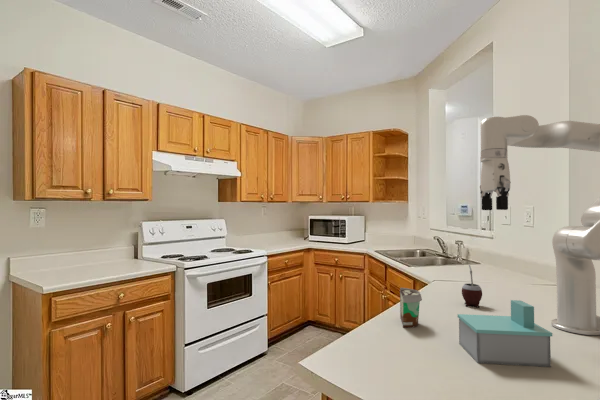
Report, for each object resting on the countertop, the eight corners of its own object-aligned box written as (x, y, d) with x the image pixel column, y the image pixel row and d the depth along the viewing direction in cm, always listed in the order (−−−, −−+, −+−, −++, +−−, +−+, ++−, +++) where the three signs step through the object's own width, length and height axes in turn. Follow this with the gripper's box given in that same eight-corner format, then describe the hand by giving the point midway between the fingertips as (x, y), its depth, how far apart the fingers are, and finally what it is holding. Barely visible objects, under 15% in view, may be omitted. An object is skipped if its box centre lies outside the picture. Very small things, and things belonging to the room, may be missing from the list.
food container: (424, 330, 102) (424, 296, 103) (403, 329, 104) (403, 295, 104) (419, 318, 114) (419, 288, 115) (399, 317, 116) (400, 287, 116)
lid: (522, 324, 91) (522, 297, 91) (552, 341, 79) (551, 310, 79) (457, 321, 93) (457, 295, 93) (476, 338, 80) (476, 308, 81)
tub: (522, 346, 91) (521, 320, 91) (550, 366, 79) (550, 336, 79) (459, 343, 92) (459, 317, 93) (477, 362, 80) (477, 332, 81)
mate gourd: (473, 309, 127) (472, 268, 128) (455, 303, 134) (455, 265, 135) (487, 307, 130) (486, 267, 131) (469, 302, 137) (469, 264, 138)
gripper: (521, 151, 101) (522, 209, 100) (492, 160, 118) (493, 210, 118) (495, 151, 102) (495, 209, 101) (470, 160, 119) (470, 210, 118)
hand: (494, 209), depth 109 cm, fingers open, 9 cm apart
